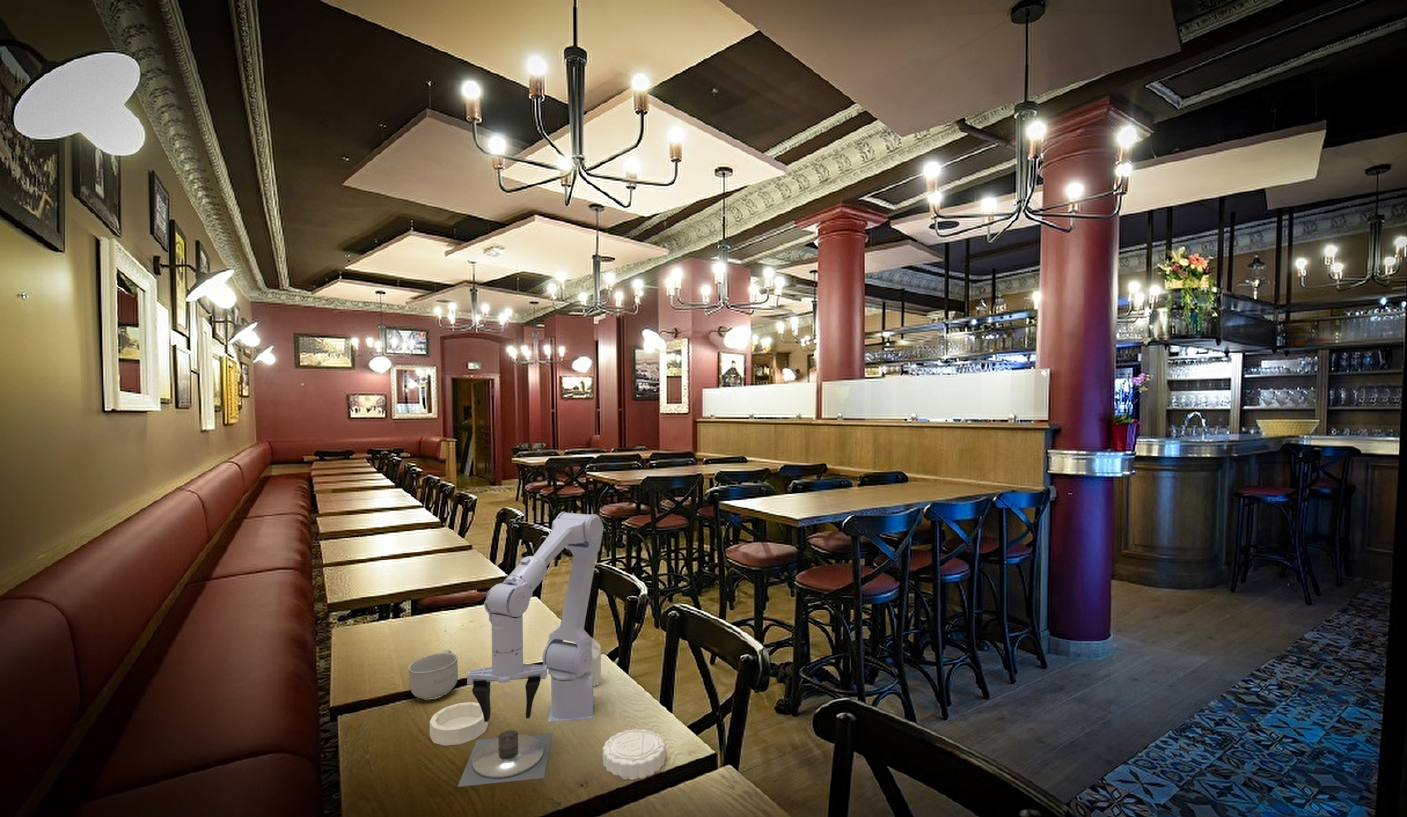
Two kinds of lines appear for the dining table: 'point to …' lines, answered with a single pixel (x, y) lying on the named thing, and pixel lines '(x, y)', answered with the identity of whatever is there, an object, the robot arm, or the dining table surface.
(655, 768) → the mooncake
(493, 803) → the dining table surface
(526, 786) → the dining table surface
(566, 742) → the dining table surface
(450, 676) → the teacup
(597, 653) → the roll
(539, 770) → the slate mat
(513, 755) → the steel lid
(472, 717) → the cream dish
